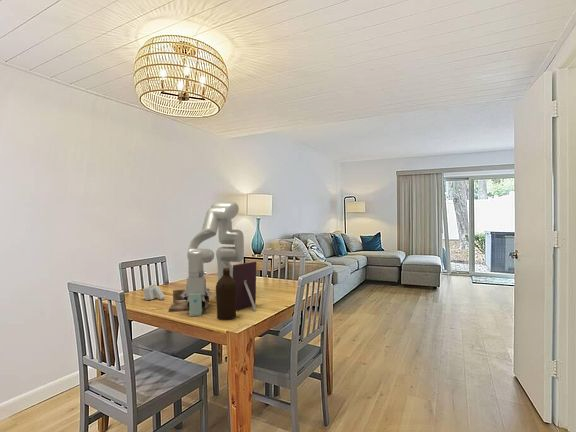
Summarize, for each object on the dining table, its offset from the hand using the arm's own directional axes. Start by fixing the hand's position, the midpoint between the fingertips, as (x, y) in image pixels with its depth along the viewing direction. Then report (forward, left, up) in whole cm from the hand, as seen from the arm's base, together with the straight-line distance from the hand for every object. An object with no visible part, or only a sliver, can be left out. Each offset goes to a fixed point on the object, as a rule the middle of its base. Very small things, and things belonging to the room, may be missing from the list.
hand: (196, 308), depth 169 cm
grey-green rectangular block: (0, 0, -3) cm, 3 cm away
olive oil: (-16, +8, -3) cm, 18 cm away
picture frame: (-28, -3, -3) cm, 28 cm away
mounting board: (+5, -13, -3) cm, 14 cm away
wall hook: (+28, -34, -3) cm, 44 cm away
